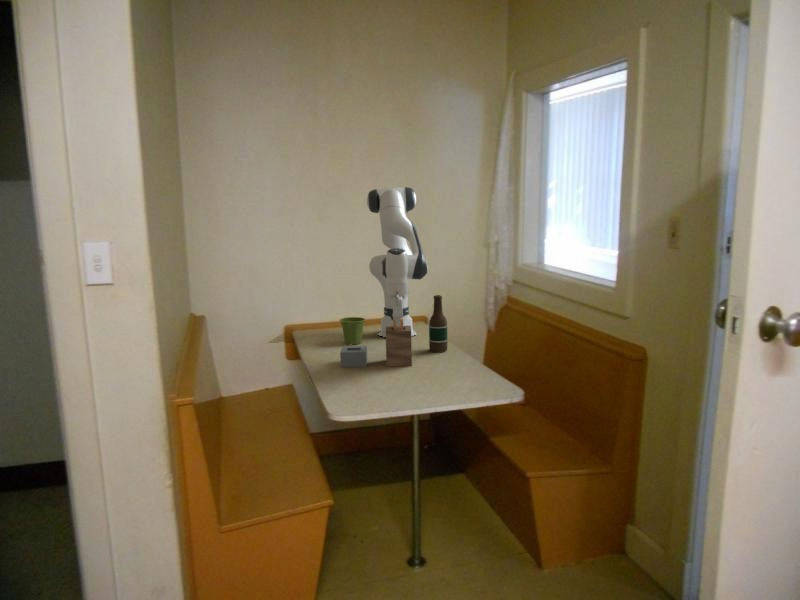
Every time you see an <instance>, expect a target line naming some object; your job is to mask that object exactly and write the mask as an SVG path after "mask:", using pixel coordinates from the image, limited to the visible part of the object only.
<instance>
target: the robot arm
mask: <svg viewBox="0 0 800 600" xmlns="http://www.w3.org/2000/svg"><path fill="white" fill-rule="evenodd" d="M416 204H417V194H416V192H415V189H413V188H411V187H407V186H406V187H394V186H393V187H387V188H386V187H385V188H380V189H377V188H375V189H372V190H370V191H369V192H368V195H367V197H366V206H367V208H368V210H369V211H370V212H371V213H372V214H374V213H375V214H378V213H379V220H380V221H379V222H380V227H381V228H380V229H381V241H382V244H383V245H384V246H386V248H389V249H388V250H386V254H380V255H376V256H373V257H371V259H370V260H369V261H370V262H369V265H368V268H369V272H370V273H371V275H372V276H373V277H375V278H376V280H377V281H378V282H379V284H380V286H381V287H382V291H383V299H384V306H383V317H382V318H381V319H380V325H381V326H380V331H379V332H378V333H377V335H379V336H384V337H386V326H393V318H395V320H396V327H400V326H401V324H400V322H401V318H403V326H411V337H415V336H414V335H416V336H417V332H416V331H415V330H414V329H413V318H412V317H411V316H410V315H409V314H410V307H409V304H408V302H409V301H408V300H409V299H408V295H409V290H410V289H409V280H423V278H424V277H426V275H427V274H428V270H429V267H428V262H427V260H426V256H425V254H424V251H423V247H422V244H421V241H420V237H419V233H418V231H417V228H416V225H415V223H414V222H413V221H410V220H409V218H408V216H407V213H409V212H410V211H413V210H414V209H415V207H416ZM407 241H408V242H409V245H408V242H407ZM409 246H410V247H409ZM379 336H378V337H379ZM384 337H383V338H384Z"/></svg>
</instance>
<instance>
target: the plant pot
mask: <svg viewBox="0 0 800 600" xmlns="http://www.w3.org/2000/svg"><path fill="white" fill-rule="evenodd" d="M365 321H366V318H364V317H359V316H351V317H349V316H348V317H343V318H340V319H339V322H340V324H341V327H342V332H343V337H344V338H343V339H344V343H345V344H346V343H347V344H346V345H349V344H353V345H356V344H357V345H359V344H358V343H360V344H361V343H362V338H363V329H364V326H365Z"/></svg>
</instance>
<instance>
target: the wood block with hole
mask: <svg viewBox="0 0 800 600" xmlns="http://www.w3.org/2000/svg"><path fill="white" fill-rule="evenodd" d="M412 348H413V347H412V336H411V326H403V330H393V326H386V338H385V354H386V355H385V357H386V358H385V359H386V367H404V366H405V367H410V366H411V367H412V366H413V360H412V359H413V357H412V355H413V353H412Z"/></svg>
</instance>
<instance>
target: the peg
mask: <svg viewBox="0 0 800 600" xmlns="http://www.w3.org/2000/svg"><path fill="white" fill-rule="evenodd" d="M400 324H401V326H400V327H396V320H395V318H393V330H403V318H401V322H400Z"/></svg>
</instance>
